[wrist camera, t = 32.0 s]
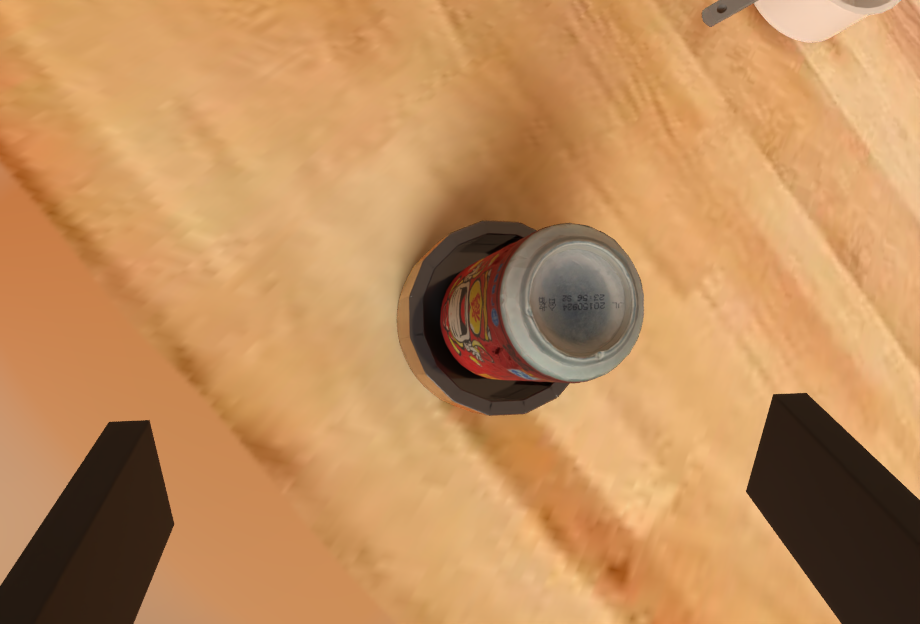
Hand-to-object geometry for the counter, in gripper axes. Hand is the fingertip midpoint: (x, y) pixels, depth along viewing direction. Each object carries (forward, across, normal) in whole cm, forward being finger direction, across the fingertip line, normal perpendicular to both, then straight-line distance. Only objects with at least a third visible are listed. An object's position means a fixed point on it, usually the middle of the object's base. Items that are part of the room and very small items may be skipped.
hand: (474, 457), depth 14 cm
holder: (+24, +4, -9) cm, 26 cm away
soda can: (+23, +4, -9) cm, 25 cm away
